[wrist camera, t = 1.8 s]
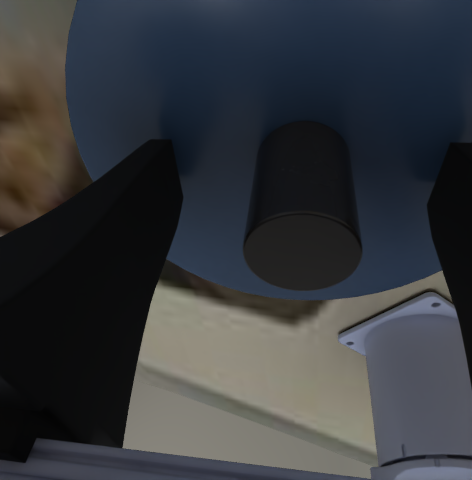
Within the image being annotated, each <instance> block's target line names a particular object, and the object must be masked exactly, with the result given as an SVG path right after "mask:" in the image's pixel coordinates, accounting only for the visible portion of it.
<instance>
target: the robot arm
mask: <svg viewBox="0 0 472 480" xmlns="http://www.w3.org/2000/svg"><path fill="white" fill-rule="evenodd" d="M183 198H184V197H183V192H182V188H181V183H180V178H179V173H178V168H177V164H176V159H175V154H174V149H173V144H172V140H171V139H150V140H148V141H147V142H145V143H144V144H142V145H141V146H140V147H139V148H137V149H136V150H135V151H133V152H132V153H131V154H130V155H128V156H127V157H126V158H125V159H123V160H122V161H121V162H120V163H118V164H117V165H116V166H114V167H113V168H112V169H111V170H109V171H108V172H107V173H105V174H104V175H103V176H102V177H100V178H99V179H97V180H96V181H95V182H93V183H92V184H90V185H89V186H88V187H86V188H85V189H83V190H82V191H81V192H79V193H78V194H76V195H75V196H74V197H72V198H71V199H69V200H67V201H66V202H64V203H63V204H61V205H60V206H58V207H56V208H55V209H53V210H51V211H49V212H48V213H46V214H44V215H43V216H41V217H39V218H37V219H35V220H34V221H32V222H30V223H28V224H26V225H24V226H22V227H20V228H18V229H16V230H14V231H12V232H10V233H8V234H6V235H4V236H1V237H0V480H472V143H454V142H450V145H449V147H448V150H447V153H446V155H445V158H444V161H443V163H442V166H441V168H440V171H439V174H438V176H437V179H436V182H435V184H434V187H433V190H432V192H431V195H430V198H429V200H428V203H427V211H428V218H429V225H430V231H431V236H432V240H433V243H434V246H435V249H436V253H437V256H438V259H439V262H440V265H441V268H442V271H443V274H444V277H445V280H446V283H447V286H448V289H449V292H450V295H451V298H452V301H453V303H454V305H453V304H452V303H450V302H449V301H447V300H446V299H444V298H443V297H441V296H440V295H438V294H437V293H434V292H427V293H424V294H422V295H420V296H418V297H416V298H414V299H412V300H410V301H408V302H405V303H403V304H401V305H399V306H397V307H395V308H393V309H391V310H389V311H387V312H385V313H383V314H380V315H378V316H376V317H374V318H372V319H370V320H368V321H366V322H364V323H362V324H360V325H358V326H355V327H353V328H351V329H349V330H347V331H345V332H343V333H341V334H339V335H338V341H339V342H340V343H341V344H343V345H345V346H347V347H349V348H351V349H353V350H355V351H357V352H358V353H360V354H362V355H364V356H366V361H367V370H368V379H369V387H370V396H371V405H372V413H373V422H374V431H375V440H376V448H377V457H378V466H379V467H372V468H371V469H370V470H371V479H367V478H359V477H350V476H341V475H334V474H325V473H318V472H309V471H302V470H294V469H286V468H277V467H269V466H261V465H252V464H245V463H237V462H228V461H220V460H212V459H203V458H196V457H188V456H180V455H172V454H163V453H155V452H146V451H139V450H131V449H123V448H122V447H123V440H124V434H125V427H126V421H127V415H128V409H129V403H130V397H131V392H132V386H133V381H134V376H135V371H136V366H137V361H138V356H139V351H140V347H141V342H142V338H143V333H144V329H145V325H146V320H147V316H148V312H149V308H150V304H151V301H152V297H153V294H154V291H155V288H156V285H157V282H158V280H159V277H160V274H161V271H162V269H163V266H164V263H165V261H166V258H167V255H168V252H169V250H170V247H171V244H172V241H173V238H174V236H175V233H176V230H177V227H178V222H179V218H180V213H181V208H182V203H183Z"/></svg>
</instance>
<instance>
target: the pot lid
mask: <svg viewBox="0 0 472 480" xmlns="http://www.w3.org/2000/svg"><path fill="white" fill-rule="evenodd" d="M65 74H66V99H67V105H68V110H69V116H70V122H71V127H72V130H73V134H74V137H75V140H76V143H77V146H78V150H79V153H80V155H81V157H82V159H83V162H84V164H85V166H86V168H87V170H88V172H89V175H90V177H91V178H92V180H93V182H95V181H96V180H97V179H99V178H100V177H102V176H103V175H104V174H105V173H107V172H108V171H109V170H111V169H112V168H113V167H114V166H116V165H117V164H118V163H120V162H121V161H122V160H123V159H125V158H126V157H127V156H128V155H130V154H131V153H132V152H133V151H135V150H136V149H137V148H139V147H140V146H141V145H142V144H144V143H145V142H147V141H148V140H150V139H171V140H172V144H173V149H174V154H175V159H176V164H177V168H178V173H179V178H180V183H181V188H182V192H183V197H184V198H183V203H182V208H181V213H180V218H179V222H178V227H177V230H176V233H175V236H174V238H173V241H172V244H171V247H170V250H169V252H168V255H167V258H166V259H168V260H169V261H171V262H173V263H174V264H176V265H178V266H180V267H181V268H183V269H185V270H186V271H189V272H191V273H193V274H195V275H197V276H199V277H201V278H204V279H206V280H208V281H211V282H214V283H216V284H219V285H222V286H225V287H228V288H231V289H235V290H238V291H242V292H245V293H250V294H255V295H260V296H265V297H273V298H281V299H292V300H333V299H342V298H351V297H358V296H363V295H368V294H374V293H379V292H382V291H386V290H390V289H394V288H397V287H401V286H404V285H407V284H409V283H412V282H415V281H418V280H421V279H423V278H426V277H428V276H430V275H432V274H435V273H437V272H439V271H441V270H442V268H441V265H440V262H439V259H438V256H437V253H436V249H435V246H434V243H433V240H432V236H431V231H430V225H429V218H428V211H427V203H428V200H429V198H430V195H431V192H432V190H433V187H434V184H435V182H436V179H437V176H438V174H439V171H440V168H441V166H442V163H443V161H444V158H445V155H446V153H447V150H448V147H449V145H450V142H454V143H472V0H77V3H76V7H75V11H74V15H73V19H72V22H71V26H70V30H69V36H68V45H67V54H66V64H65Z"/></svg>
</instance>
